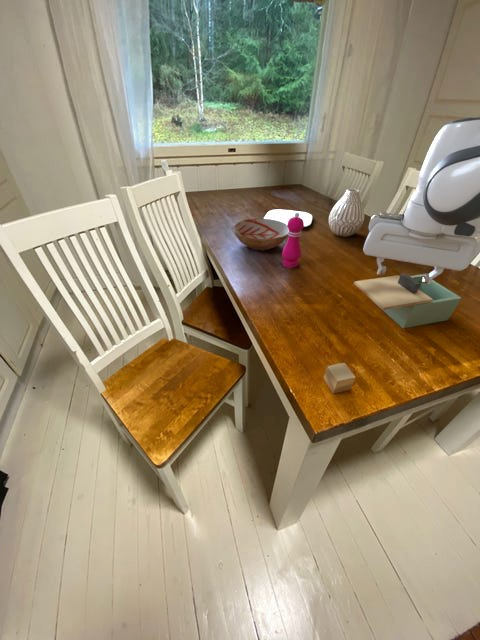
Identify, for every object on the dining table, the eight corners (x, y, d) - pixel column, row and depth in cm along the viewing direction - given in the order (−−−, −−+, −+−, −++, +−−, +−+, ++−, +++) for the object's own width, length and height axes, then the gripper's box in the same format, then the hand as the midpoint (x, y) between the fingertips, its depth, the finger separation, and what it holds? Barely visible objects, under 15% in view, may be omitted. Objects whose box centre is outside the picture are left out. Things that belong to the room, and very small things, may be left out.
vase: (323, 227, 141) (331, 185, 129) (353, 228, 141) (365, 186, 128) (329, 239, 129) (339, 194, 116) (363, 240, 128) (377, 195, 116)
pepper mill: (277, 263, 109) (282, 212, 97) (289, 258, 113) (295, 208, 100) (291, 270, 105) (298, 217, 92) (302, 264, 109) (311, 213, 96)
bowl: (243, 231, 135) (243, 215, 130) (293, 239, 129) (295, 222, 124) (224, 252, 117) (223, 234, 112) (281, 261, 110) (283, 243, 105)
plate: (313, 215, 156) (313, 212, 155) (309, 231, 137) (310, 227, 136) (269, 211, 161) (269, 208, 160) (260, 225, 142) (260, 222, 141)
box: (447, 320, 82) (461, 298, 77) (403, 328, 78) (414, 306, 73) (413, 294, 92) (423, 274, 87) (372, 301, 89) (381, 280, 84)
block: (350, 389, 61) (355, 377, 59) (332, 393, 61) (337, 381, 58) (340, 375, 65) (344, 362, 62) (323, 378, 64) (327, 366, 61)
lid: (431, 301, 74) (438, 290, 72) (383, 310, 71) (388, 298, 69) (397, 277, 85) (402, 266, 82) (353, 283, 82) (357, 272, 79)
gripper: (372, 215, 55) (353, 275, 64) (493, 230, 49) (454, 295, 58) (373, 206, 60) (356, 264, 68) (484, 219, 53) (450, 281, 62)
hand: (402, 278), depth 63 cm, fingers open, 8 cm apart
